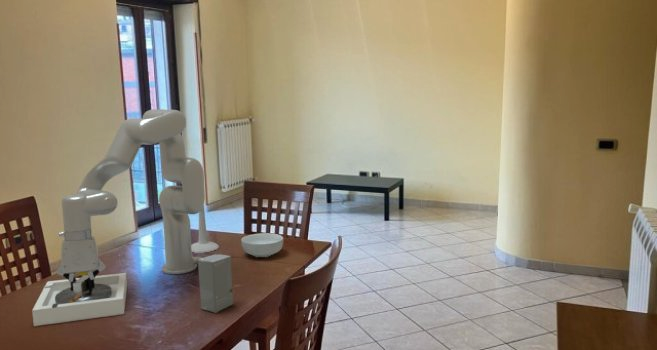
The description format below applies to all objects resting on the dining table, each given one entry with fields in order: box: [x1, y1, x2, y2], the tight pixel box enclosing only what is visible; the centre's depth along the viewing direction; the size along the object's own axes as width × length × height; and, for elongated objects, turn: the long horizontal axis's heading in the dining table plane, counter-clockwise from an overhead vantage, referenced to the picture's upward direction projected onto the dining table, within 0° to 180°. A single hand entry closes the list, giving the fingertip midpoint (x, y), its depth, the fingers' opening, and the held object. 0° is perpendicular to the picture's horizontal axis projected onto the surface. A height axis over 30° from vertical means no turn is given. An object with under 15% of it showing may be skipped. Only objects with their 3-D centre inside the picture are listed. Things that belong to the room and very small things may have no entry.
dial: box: [55, 274, 112, 304], centre depth 163 cm, size 16×16×6 cm
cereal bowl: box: [240, 232, 284, 258], centre depth 211 cm, size 17×17×7 cm
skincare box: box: [197, 253, 234, 314], centre depth 160 cm, size 8×7×16 cm
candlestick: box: [191, 205, 220, 254], centre depth 218 cm, size 13×13×30 cm
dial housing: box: [31, 272, 128, 327], centre depth 163 cm, size 24×24×5 cm
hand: (83, 291), depth 163 cm, fingers closed on dial, 3 cm apart
